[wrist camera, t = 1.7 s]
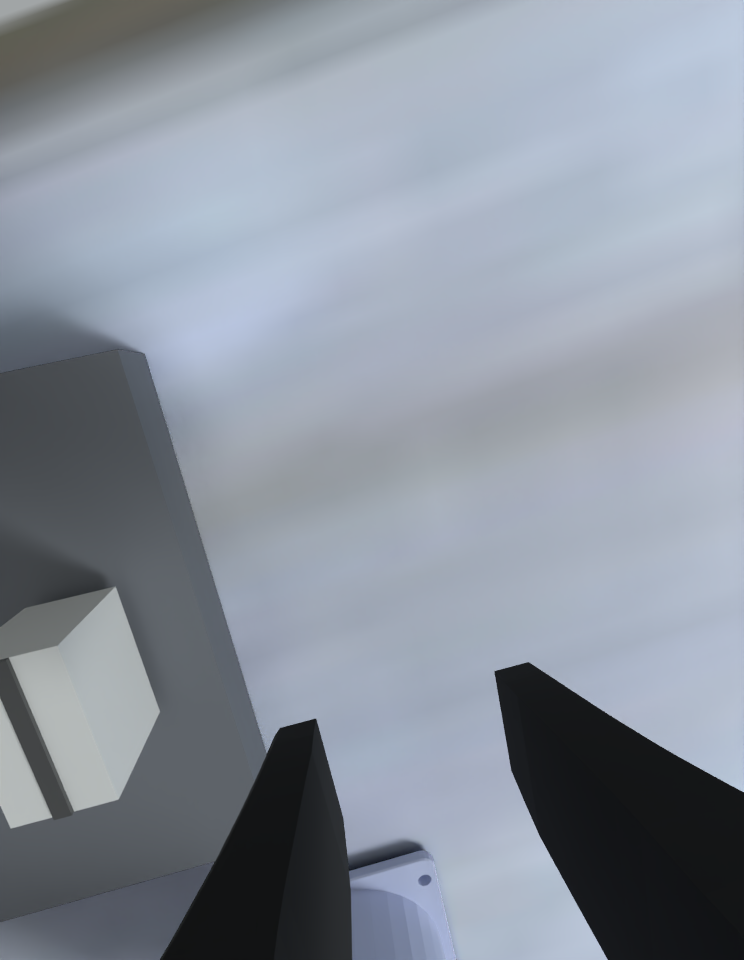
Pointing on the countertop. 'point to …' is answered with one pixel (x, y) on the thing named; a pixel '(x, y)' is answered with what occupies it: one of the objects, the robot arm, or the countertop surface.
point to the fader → (70, 707)
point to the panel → (150, 613)
